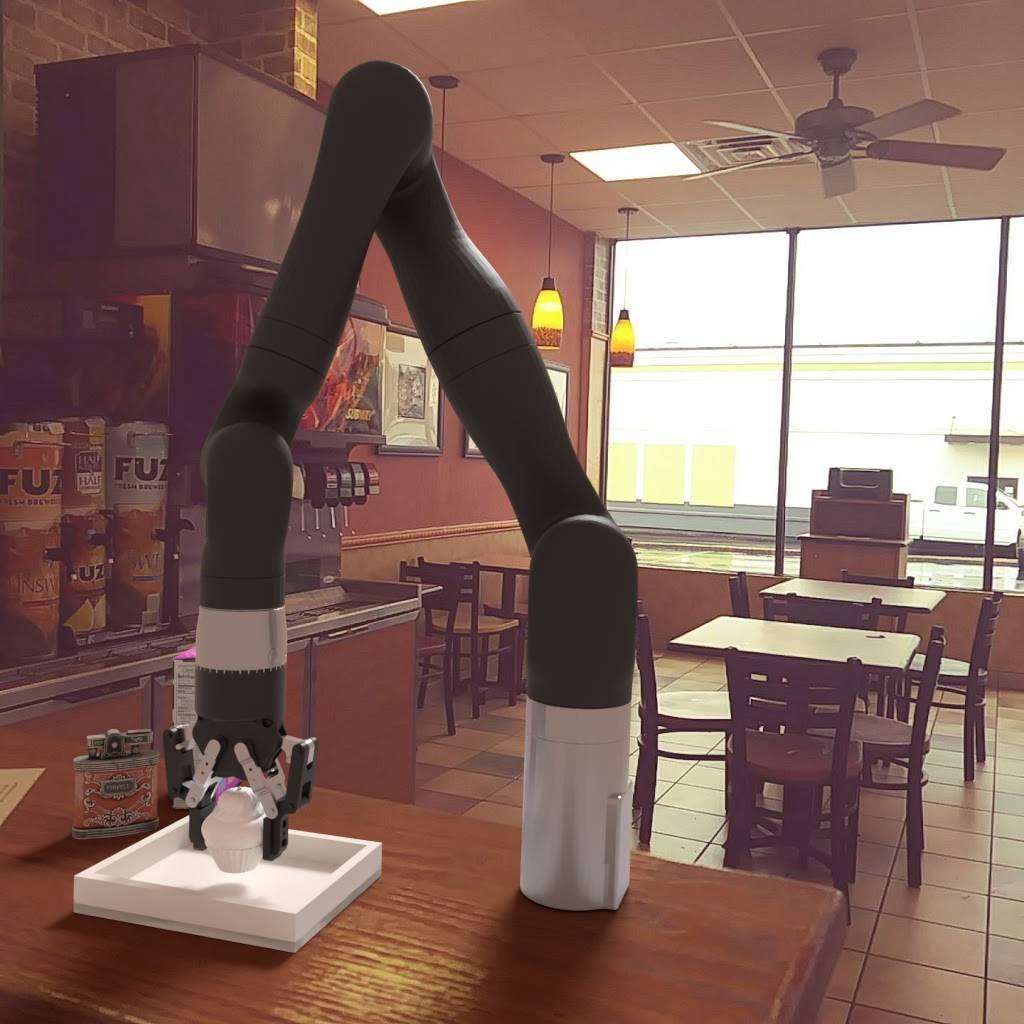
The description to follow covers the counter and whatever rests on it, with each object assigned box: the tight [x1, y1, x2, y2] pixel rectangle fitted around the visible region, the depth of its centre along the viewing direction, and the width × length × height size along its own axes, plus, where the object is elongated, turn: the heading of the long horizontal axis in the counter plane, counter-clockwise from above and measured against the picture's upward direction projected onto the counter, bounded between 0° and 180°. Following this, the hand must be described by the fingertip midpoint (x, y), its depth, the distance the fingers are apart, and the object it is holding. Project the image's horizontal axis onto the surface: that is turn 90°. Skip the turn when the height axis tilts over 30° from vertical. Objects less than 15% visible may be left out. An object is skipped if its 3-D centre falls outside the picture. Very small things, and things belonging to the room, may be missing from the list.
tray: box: [72, 814, 383, 954], centre depth 89 cm, size 20×16×3 cm
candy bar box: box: [171, 645, 243, 809], centre depth 114 cm, size 11×5×16 cm, turn 179°
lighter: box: [71, 728, 161, 840], centre depth 102 cm, size 8×3×10 cm, turn 118°
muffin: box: [201, 785, 267, 874], centre depth 88 cm, size 6×6×7 cm
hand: (237, 852), depth 88 cm, fingers closed on muffin, 6 cm apart
